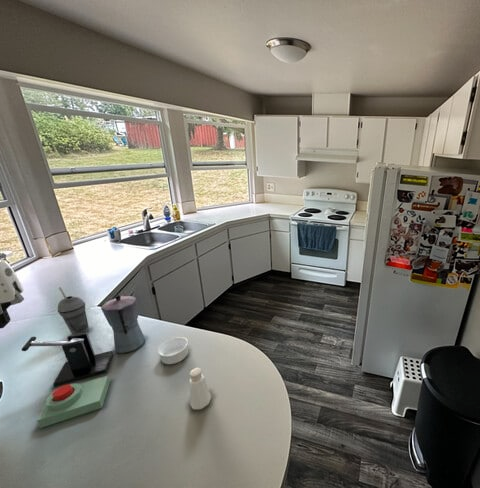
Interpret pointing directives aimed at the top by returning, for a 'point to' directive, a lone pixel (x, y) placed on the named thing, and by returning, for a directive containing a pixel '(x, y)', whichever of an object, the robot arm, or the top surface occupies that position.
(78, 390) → the control block
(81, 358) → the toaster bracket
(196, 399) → the pepper shaker
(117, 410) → the top surface
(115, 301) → the moka pot
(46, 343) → the lever
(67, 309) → the beverage cup
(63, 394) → the stop button
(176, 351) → the ramekin
